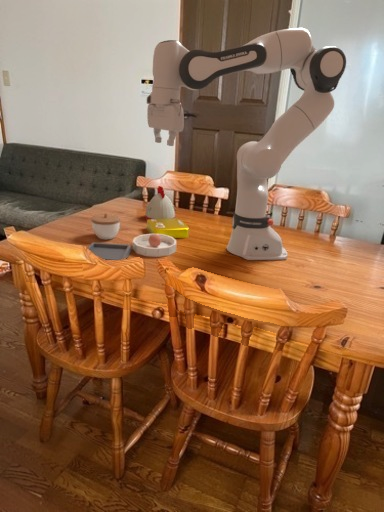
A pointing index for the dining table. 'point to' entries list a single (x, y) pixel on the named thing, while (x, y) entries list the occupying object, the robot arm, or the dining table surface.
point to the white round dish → (146, 249)
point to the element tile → (168, 227)
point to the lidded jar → (105, 225)
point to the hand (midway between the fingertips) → (164, 144)
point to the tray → (110, 250)
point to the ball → (154, 240)
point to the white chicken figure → (160, 207)
